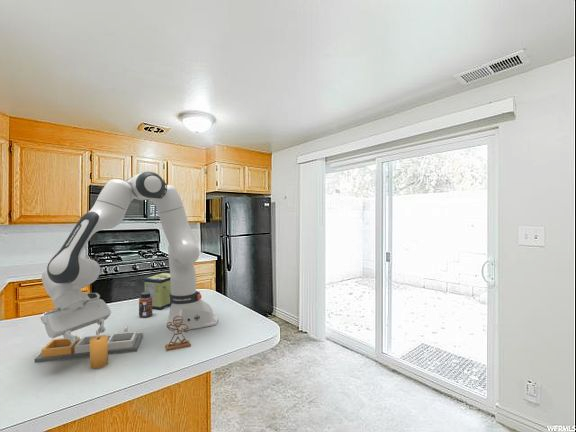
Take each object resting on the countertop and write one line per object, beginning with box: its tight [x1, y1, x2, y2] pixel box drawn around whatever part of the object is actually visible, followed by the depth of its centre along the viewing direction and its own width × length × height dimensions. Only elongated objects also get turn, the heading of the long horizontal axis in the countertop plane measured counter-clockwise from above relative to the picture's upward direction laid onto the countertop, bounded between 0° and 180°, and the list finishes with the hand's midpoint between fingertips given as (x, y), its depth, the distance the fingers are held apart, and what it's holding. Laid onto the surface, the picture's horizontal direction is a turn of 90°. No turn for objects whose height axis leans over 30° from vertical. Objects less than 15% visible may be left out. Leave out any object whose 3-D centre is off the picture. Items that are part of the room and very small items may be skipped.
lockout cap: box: [89, 334, 109, 370], centre depth 106 cm, size 5×5×9 cm
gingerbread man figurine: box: [164, 316, 191, 352], centre depth 119 cm, size 9×4×12 cm, turn 118°
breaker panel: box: [33, 326, 144, 364], centre depth 118 cm, size 32×14×5 cm, turn 106°
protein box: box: [144, 272, 171, 311], centre depth 168 cm, size 10×16×16 cm
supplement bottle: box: [138, 291, 153, 318], centre depth 151 cm, size 6×6×11 cm
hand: (89, 336), depth 107 cm, fingers open, 8 cm apart
